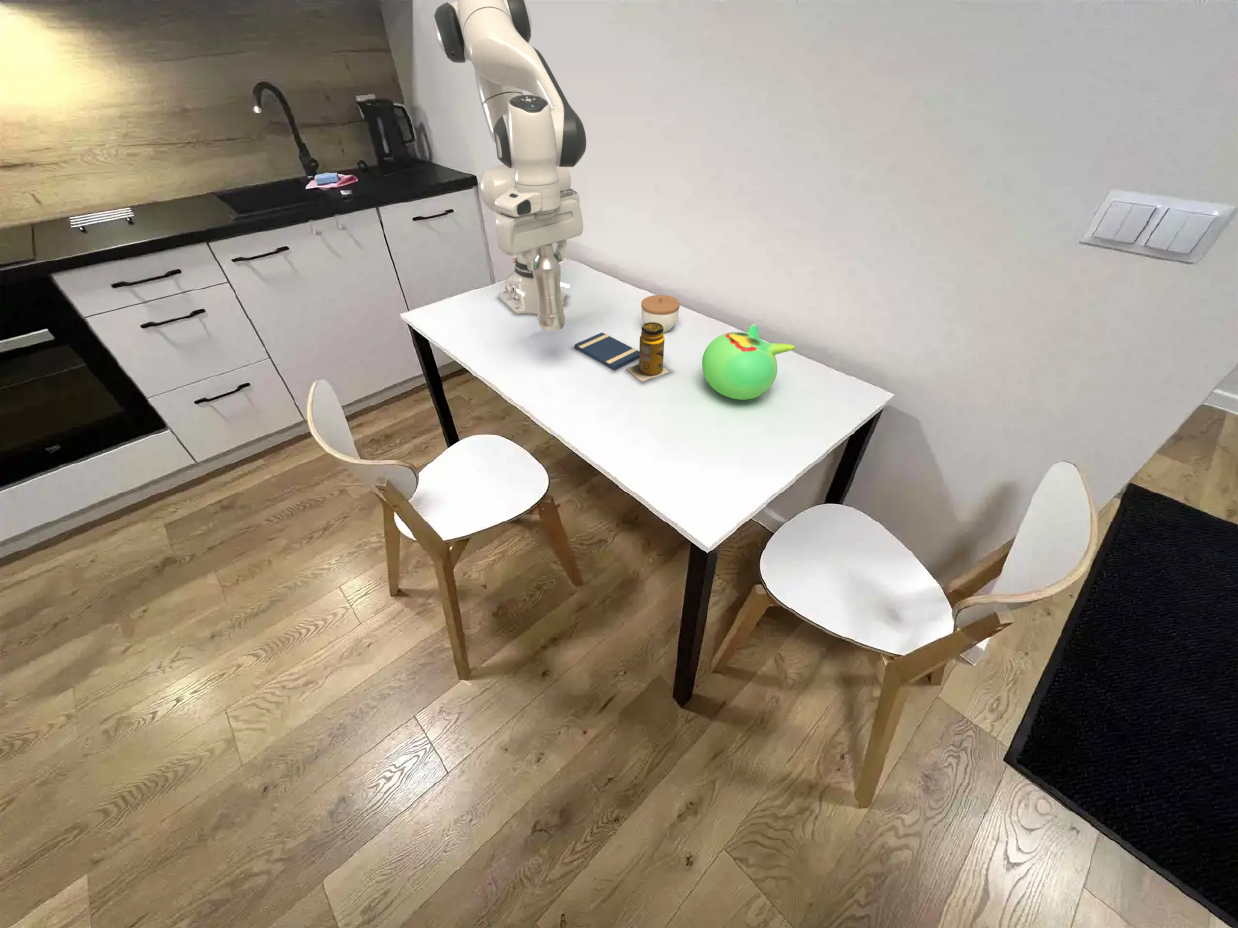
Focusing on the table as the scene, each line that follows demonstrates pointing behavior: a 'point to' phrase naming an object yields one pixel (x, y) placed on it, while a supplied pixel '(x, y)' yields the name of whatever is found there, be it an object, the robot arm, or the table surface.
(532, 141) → the robot arm
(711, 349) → the toy bird
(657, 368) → the condiment
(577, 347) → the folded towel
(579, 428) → the table surface
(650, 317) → the trinket box
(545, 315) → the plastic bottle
